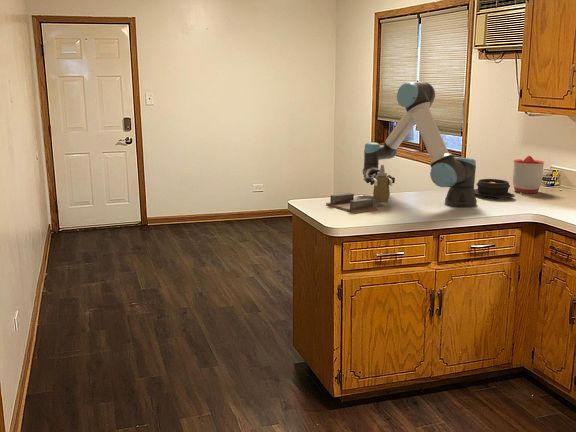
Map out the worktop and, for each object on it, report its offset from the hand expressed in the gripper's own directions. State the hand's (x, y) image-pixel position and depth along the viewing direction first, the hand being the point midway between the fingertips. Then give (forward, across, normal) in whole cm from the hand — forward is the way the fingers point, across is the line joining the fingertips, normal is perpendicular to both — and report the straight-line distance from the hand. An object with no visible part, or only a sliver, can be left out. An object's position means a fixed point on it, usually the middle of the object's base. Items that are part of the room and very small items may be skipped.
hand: (384, 183), depth 298 cm
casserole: (-27, -64, -12) cm, 70 cm away
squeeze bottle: (-5, 0, -10) cm, 11 cm away
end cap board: (-1, +15, -12) cm, 19 cm away
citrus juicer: (-41, -88, -12) cm, 98 cm away
